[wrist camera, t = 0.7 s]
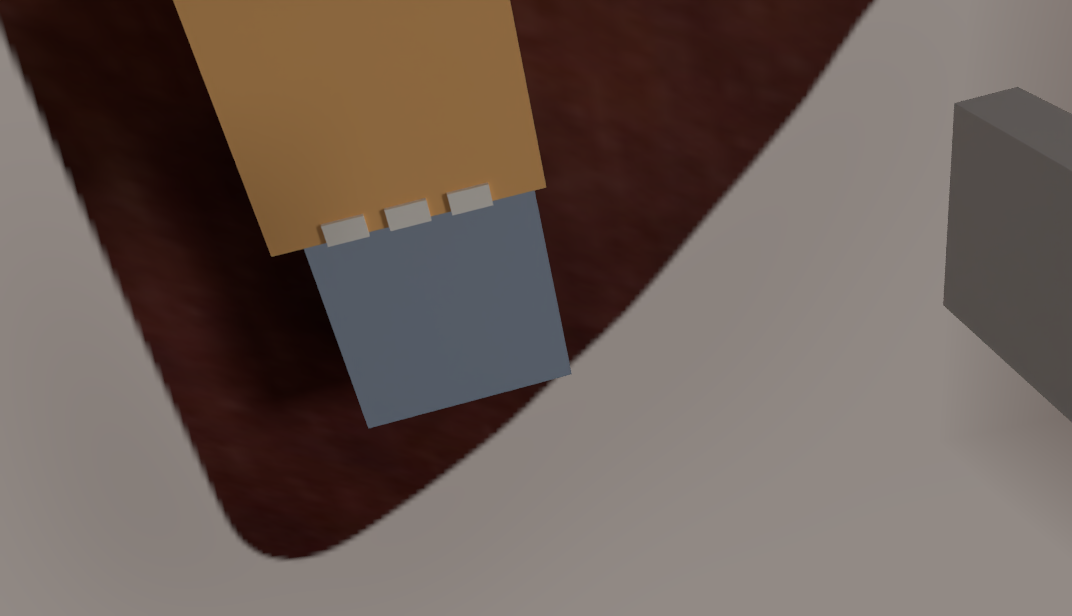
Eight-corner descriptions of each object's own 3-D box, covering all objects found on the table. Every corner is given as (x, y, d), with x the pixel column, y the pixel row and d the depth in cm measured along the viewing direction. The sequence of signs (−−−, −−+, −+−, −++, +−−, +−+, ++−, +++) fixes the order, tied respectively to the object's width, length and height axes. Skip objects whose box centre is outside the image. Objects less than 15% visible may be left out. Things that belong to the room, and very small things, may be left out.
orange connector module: (476, 47, 30) (547, 191, 20) (287, 93, 29) (272, 261, 20) (429, -164, 27) (489, -108, 17) (216, -116, 26) (159, -32, 17)
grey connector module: (547, 313, 36) (572, 375, 32) (363, 361, 35) (368, 430, 32) (492, 53, 30) (515, 94, 27) (275, 106, 30) (269, 155, 26)
